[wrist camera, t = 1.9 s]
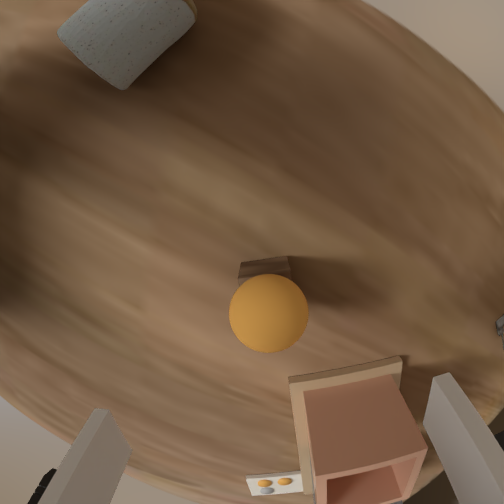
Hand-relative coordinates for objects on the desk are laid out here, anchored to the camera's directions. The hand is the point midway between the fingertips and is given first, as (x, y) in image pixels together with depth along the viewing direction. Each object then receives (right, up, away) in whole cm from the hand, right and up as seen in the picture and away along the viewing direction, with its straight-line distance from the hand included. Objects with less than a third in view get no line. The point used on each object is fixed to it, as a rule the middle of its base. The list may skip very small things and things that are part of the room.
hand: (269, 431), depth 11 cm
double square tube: (+10, -14, +20) cm, 26 cm away
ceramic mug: (-10, +25, +10) cm, 29 cm away
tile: (+2, -23, +23) cm, 33 cm away
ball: (0, +4, +12) cm, 12 cm away
